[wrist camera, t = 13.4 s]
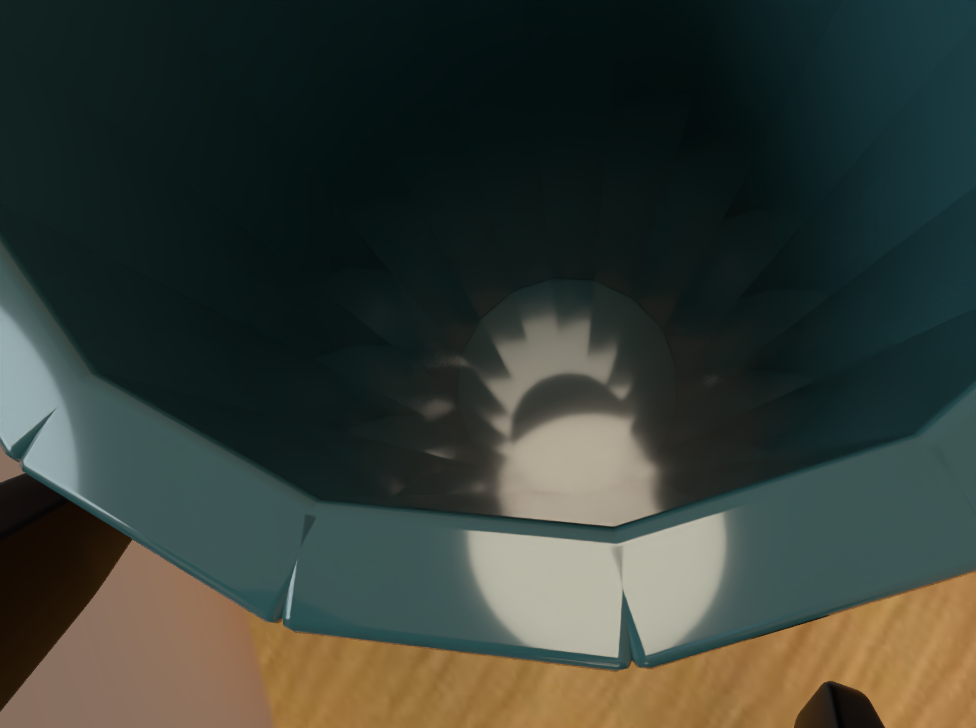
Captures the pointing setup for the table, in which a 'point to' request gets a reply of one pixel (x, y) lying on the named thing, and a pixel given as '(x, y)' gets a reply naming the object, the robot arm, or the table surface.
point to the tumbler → (501, 307)
